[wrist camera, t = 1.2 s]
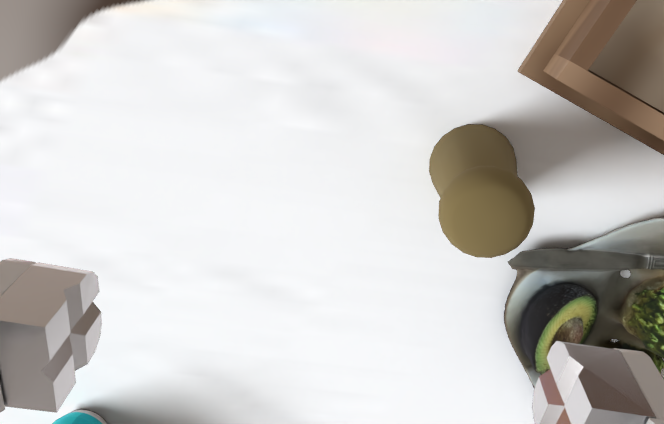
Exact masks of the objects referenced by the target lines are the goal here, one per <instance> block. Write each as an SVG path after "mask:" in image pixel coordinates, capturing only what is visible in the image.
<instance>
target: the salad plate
mask: <svg viewBox="0 0 664 424" xmlns="http://www.w3.org/2000/svg"><path fill="white" fill-rule="evenodd" d="M508 263H509V265H510V266H511V268H512V269H516V270H517V277H516V280H515V282H514V284H513V286H512V288H511V290H510V293H509V295H508V298H507V301H506V304H505V311H504V323H505V327H506V331H507V334H508V337H509V340H510V342H511V344H512V347H513V348H514V350H515V352H516V354H517V356H518V358H519V360H520V362H521V363H522V365H523V367H524V369H525V371H526V373H527V374H528V376H529V379H530V381H531V382H532V385H533V387H534V389H535V386H536V383H537V380H538V378H539V376H541V375H542V374H544V373H545V372H547V371H548V370H550V366H549V363H548V360H547V356H548V353H549V351H550V349H551V347H552V346H553V344H554V343H555V342H556V341H561V342H568V343H575V344H582V345H589V346H596V347H603V348H610V349H614V348H617V349H625V350H634V351H642V352H644V353H646V354H647V355H648V356H649V357H650V358H651V359H652V361H653V363H654V364H655V366H656V368H657V369H658V371H659V372H660V374H661V369H663V368H664V361H663V359H662V358H664V218H653V219H649V220H646V221H642V222H638V223H634V224H630V225H628V226H625V227H622V228H619V229H616V230H614V231H612V232H609V233H607V234H605V235H603V236H600V237H598V238H595V239H593V240H591V241H588V242H586V243H584V244H581V245H579V246H576V247H572V248H568V249H562V248H543V249H535V250H529V251H522V252H520V253H519V254H518V255H516V256H515V257H514V258H513V259H511V260H510V261H508ZM621 270H629V271H630V273H631V276H630V277H629V278H623V277H622V276H620V271H621ZM611 339H617V340H619V341H618V342H615V343H614V342H610V340H611ZM663 379H664V378H663Z"/></svg>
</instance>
